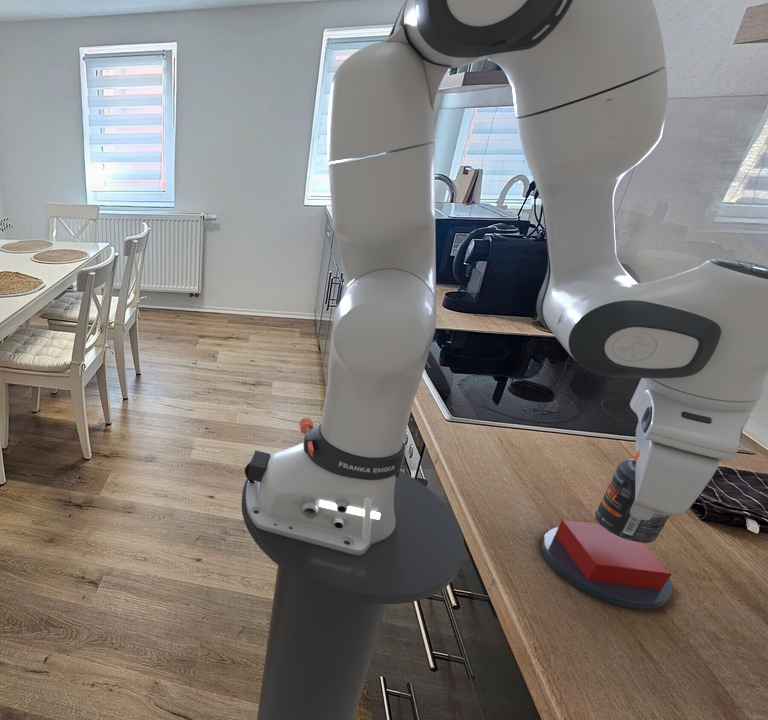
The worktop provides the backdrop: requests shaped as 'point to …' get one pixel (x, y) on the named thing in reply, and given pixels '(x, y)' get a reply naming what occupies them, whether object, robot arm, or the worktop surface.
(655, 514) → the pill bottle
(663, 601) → the plate
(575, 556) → the red block
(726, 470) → the worktop surface
